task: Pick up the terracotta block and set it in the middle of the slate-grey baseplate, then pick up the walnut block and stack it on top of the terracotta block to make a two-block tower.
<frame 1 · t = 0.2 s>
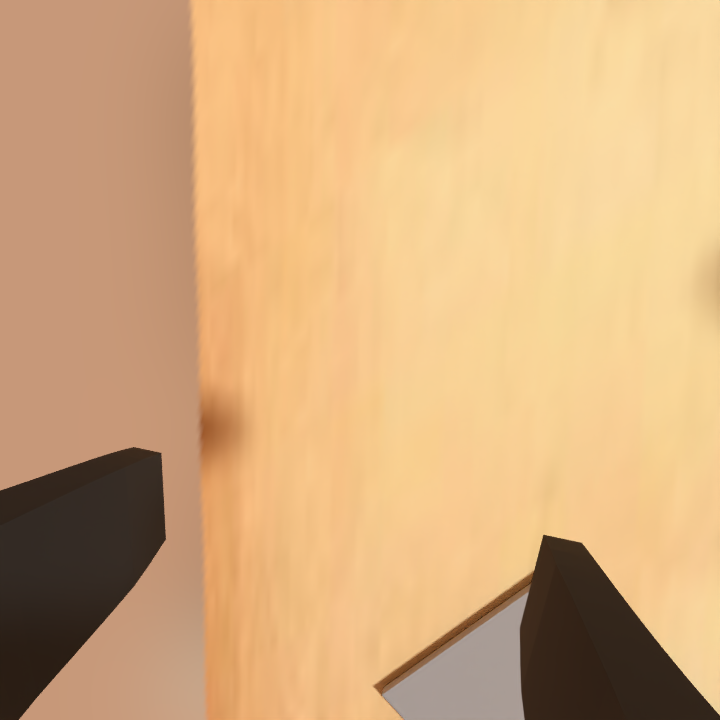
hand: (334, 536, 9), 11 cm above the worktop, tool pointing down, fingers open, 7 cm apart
baseplate: (546, 708, 20), on the worktop
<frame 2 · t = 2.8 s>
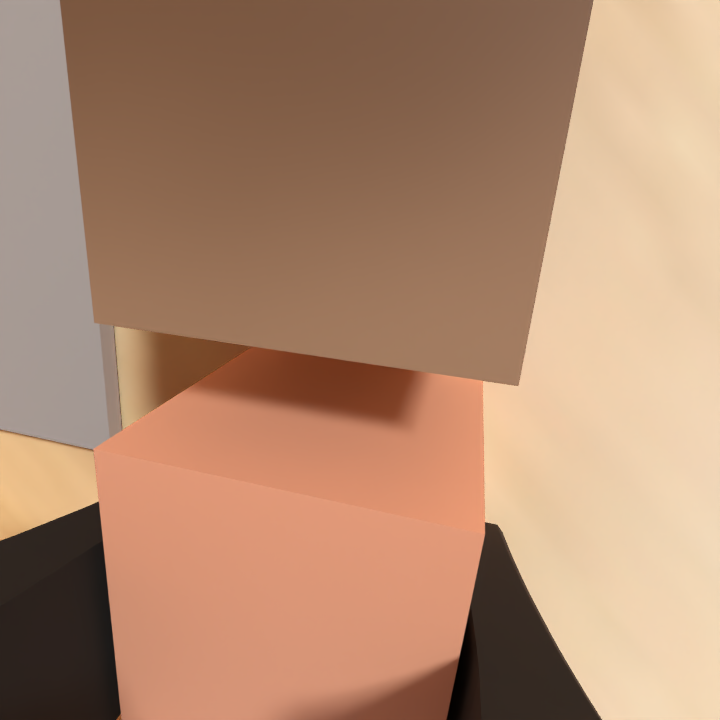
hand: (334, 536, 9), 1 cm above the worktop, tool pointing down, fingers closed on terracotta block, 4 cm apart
terracotta block: (352, 493, 10), on the worktop, touching gripper
walnut block: (392, 98, 8), on the worktop
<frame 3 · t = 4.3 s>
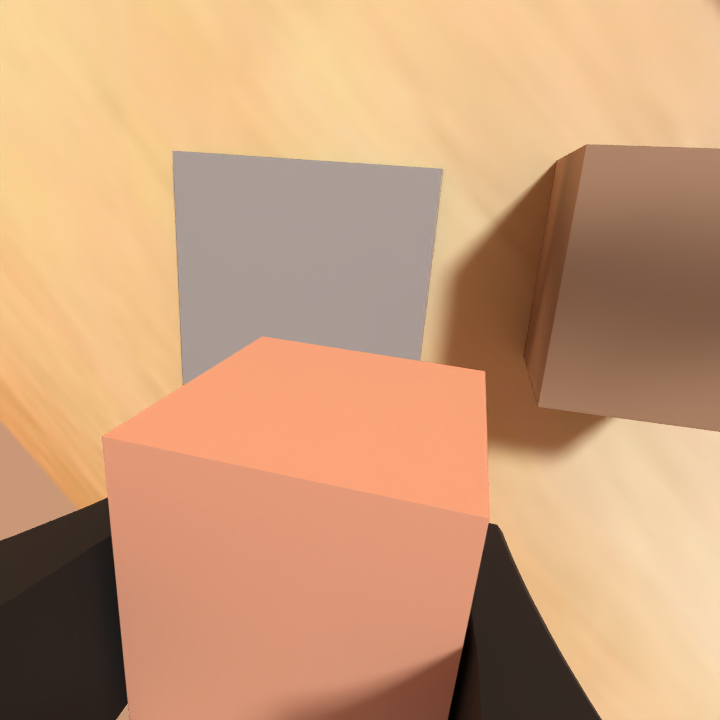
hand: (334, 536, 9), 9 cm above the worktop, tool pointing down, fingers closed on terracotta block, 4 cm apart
terracotta block: (355, 486, 10), point 7 cm above the worktop, touching gripper
baseplate: (298, 310, 17), on the worktop
walnut block: (614, 269, 15), on the worktop
when the fingers open (3 cm above the worktop, at t = 6.2 s): terracotta block stays where it is, resting on baseplate.
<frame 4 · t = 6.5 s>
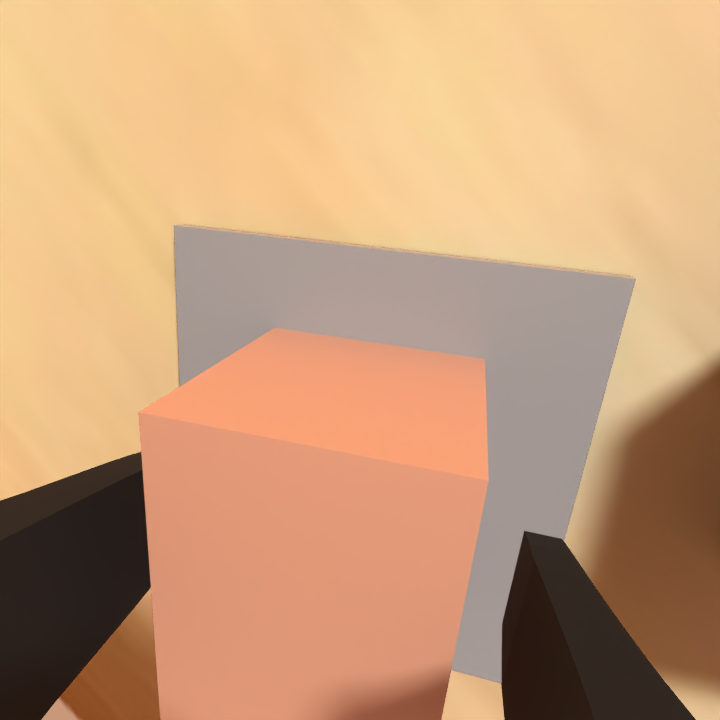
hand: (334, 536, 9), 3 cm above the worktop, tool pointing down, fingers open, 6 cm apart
terracotta block: (362, 469, 11), resting on baseplate
baseplate: (365, 465, 11), on the worktop
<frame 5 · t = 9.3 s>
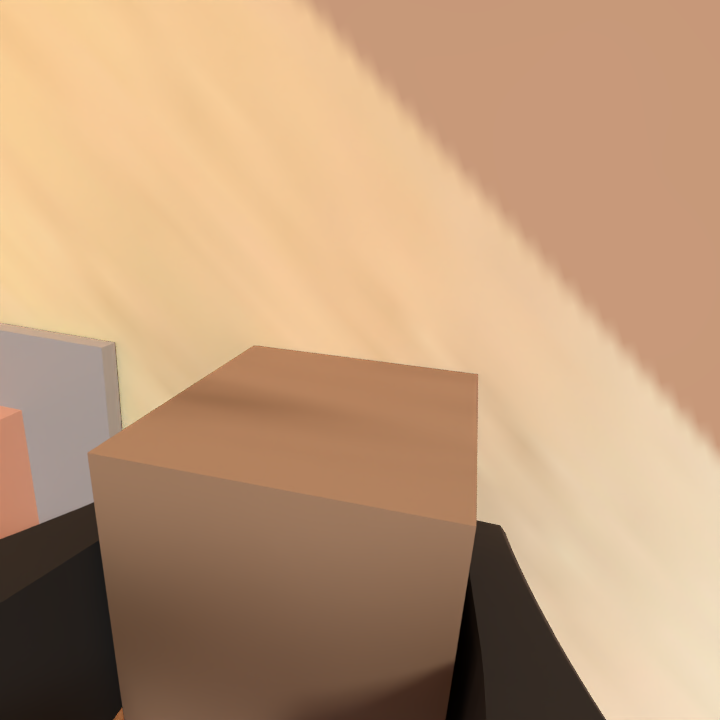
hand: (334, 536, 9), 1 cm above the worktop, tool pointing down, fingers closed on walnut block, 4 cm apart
walnut block: (352, 493, 10), on the worktop, touching gripper
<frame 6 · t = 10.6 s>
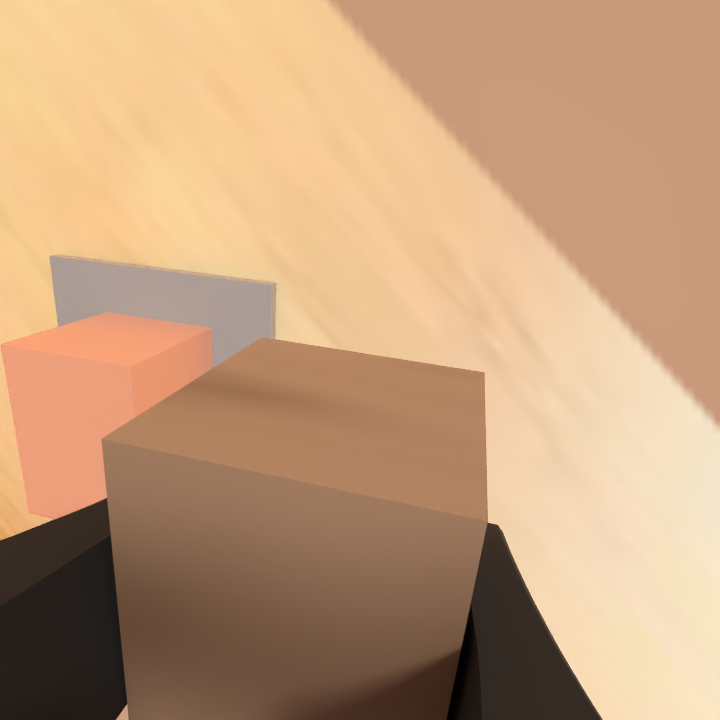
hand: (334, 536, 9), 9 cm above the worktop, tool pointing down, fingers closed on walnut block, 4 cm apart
terracotta block: (162, 393, 19), resting on baseplate
baseplate: (168, 392, 20), on the worktop
walnut block: (355, 487, 10), point 7 cm above the worktop, touching gripper
when the fingers open (7 cm above the worktop, at t = 11.9 s): walnut block stays where it is, resting on terracotta block.
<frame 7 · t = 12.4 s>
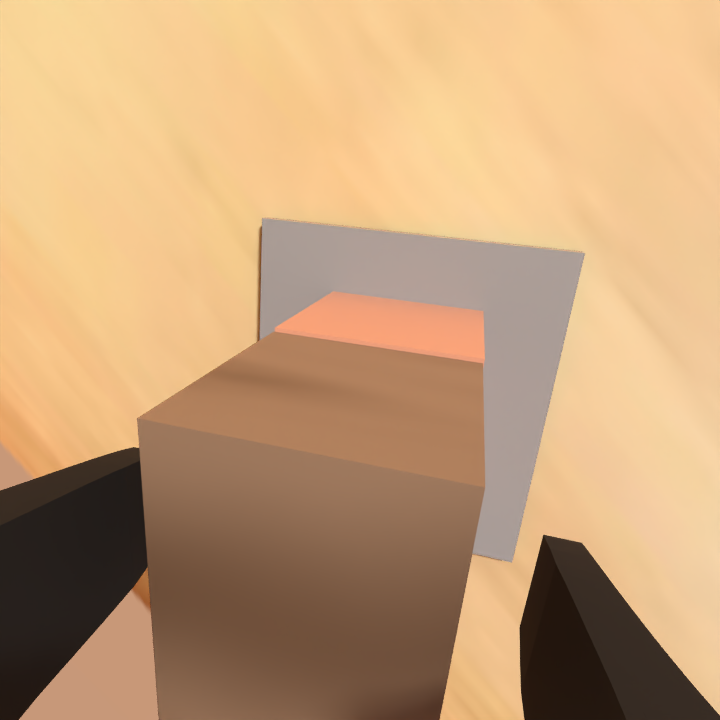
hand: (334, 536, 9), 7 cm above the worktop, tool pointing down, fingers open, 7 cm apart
terracotta block: (395, 395, 15), resting on baseplate, touching walnut block
baseplate: (395, 394, 16), on the worktop
walnut block: (361, 473, 11), point 5 cm above the worktop, touching terracotta block
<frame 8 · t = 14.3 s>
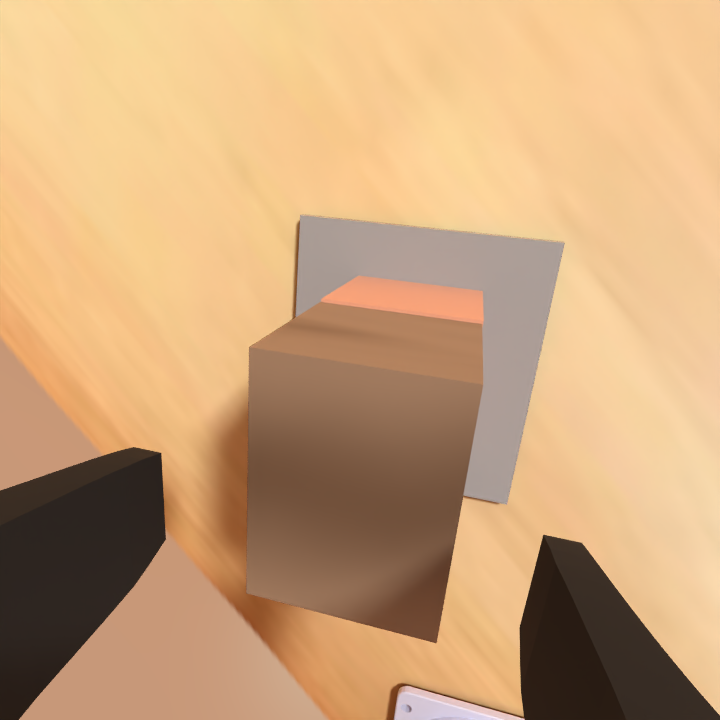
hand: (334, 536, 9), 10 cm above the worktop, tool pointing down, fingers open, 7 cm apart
terracotta block: (409, 362, 18), resting on baseplate, touching walnut block
baseplate: (409, 362, 19), on the worktop
walnut block: (387, 413, 14), point 5 cm above the worktop, touching terracotta block
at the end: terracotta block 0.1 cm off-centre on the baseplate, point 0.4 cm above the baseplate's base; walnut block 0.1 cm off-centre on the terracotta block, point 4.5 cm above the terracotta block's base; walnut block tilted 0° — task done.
